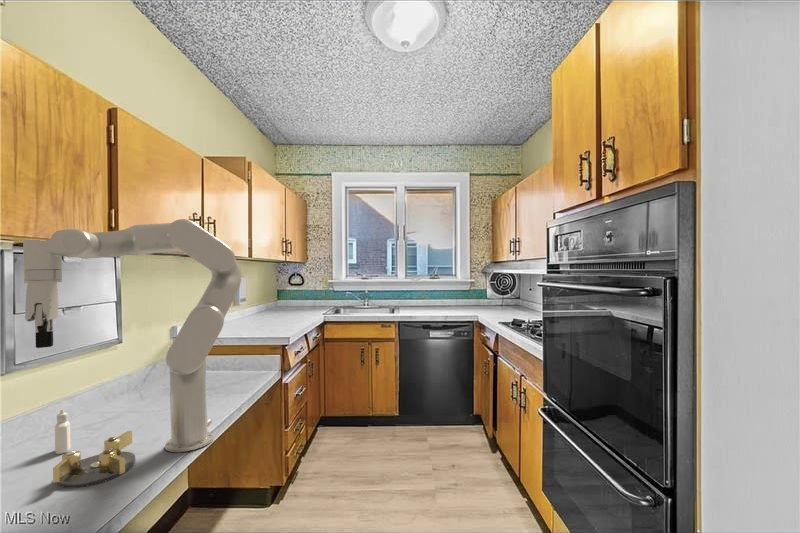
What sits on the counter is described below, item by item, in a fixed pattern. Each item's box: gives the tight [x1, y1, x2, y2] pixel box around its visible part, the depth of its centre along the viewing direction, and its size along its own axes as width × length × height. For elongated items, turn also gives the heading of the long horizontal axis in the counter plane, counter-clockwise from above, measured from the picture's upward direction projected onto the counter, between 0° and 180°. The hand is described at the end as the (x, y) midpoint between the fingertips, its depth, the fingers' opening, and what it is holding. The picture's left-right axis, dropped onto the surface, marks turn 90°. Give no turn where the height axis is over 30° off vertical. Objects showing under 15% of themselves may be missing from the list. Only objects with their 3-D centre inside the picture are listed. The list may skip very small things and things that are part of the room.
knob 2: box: [103, 430, 133, 455], centre depth 112 cm, size 9×4×5 cm, turn 0°
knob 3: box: [98, 449, 126, 475], centre depth 100 cm, size 9×4×5 cm, turn 60°
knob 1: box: [52, 449, 82, 484], centre depth 99 cm, size 9×4×5 cm, turn 16°
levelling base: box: [56, 451, 136, 488], centre depth 104 cm, size 16×16×2 cm
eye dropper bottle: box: [54, 408, 72, 455], centre depth 117 cm, size 4×6×12 cm
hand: (44, 346), depth 106 cm, fingers closed
